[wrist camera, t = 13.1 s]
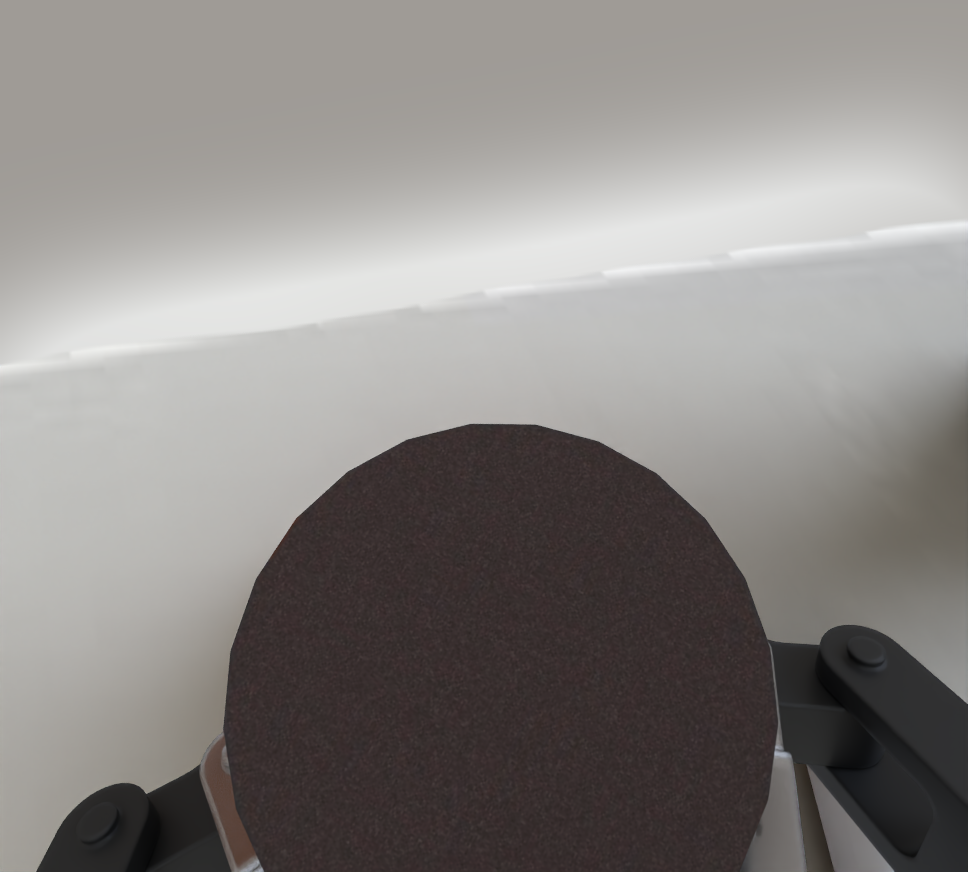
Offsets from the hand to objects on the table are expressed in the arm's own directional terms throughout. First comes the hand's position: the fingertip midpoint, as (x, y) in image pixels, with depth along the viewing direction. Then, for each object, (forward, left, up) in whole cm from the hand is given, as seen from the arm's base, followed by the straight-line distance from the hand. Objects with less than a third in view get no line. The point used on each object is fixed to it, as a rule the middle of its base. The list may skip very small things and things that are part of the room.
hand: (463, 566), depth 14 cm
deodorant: (+1, +1, -8) cm, 9 cm away
